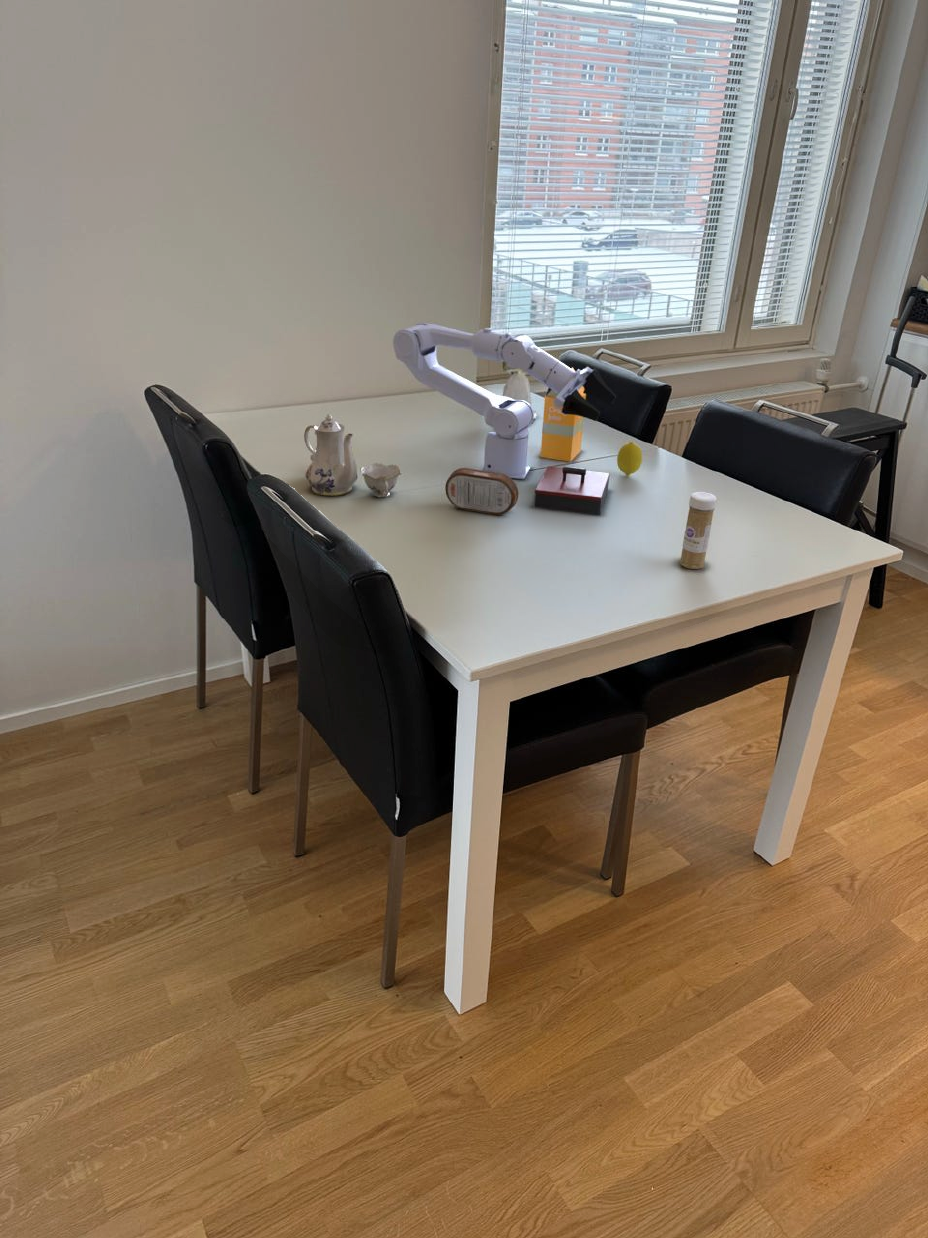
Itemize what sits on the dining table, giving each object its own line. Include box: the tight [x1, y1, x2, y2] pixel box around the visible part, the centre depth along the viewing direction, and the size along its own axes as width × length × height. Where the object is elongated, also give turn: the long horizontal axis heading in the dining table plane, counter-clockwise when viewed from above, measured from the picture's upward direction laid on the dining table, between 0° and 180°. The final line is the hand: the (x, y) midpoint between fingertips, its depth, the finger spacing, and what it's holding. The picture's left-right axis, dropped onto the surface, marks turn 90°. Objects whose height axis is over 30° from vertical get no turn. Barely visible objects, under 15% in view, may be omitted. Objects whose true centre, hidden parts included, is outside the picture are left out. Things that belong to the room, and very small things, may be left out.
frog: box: [501, 361, 539, 420], centre depth 242 cm, size 12×13×18 cm
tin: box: [444, 467, 519, 516], centre depth 185 cm, size 15×3×8 cm, turn 71°
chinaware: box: [303, 413, 403, 498], centre depth 193 cm, size 28×17×17 cm, turn 47°
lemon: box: [616, 441, 643, 477], centre depth 207 cm, size 6×6×8 cm
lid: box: [534, 466, 611, 501], centre depth 192 cm, size 15×14×4 cm
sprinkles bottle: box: [679, 491, 718, 570], centre depth 164 cm, size 5×5×14 cm
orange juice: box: [539, 366, 587, 463], centre depth 216 cm, size 8×9×20 cm
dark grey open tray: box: [533, 478, 610, 516], centre depth 194 cm, size 15×14×3 cm
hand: (606, 408), depth 192 cm, fingers open, 7 cm apart
